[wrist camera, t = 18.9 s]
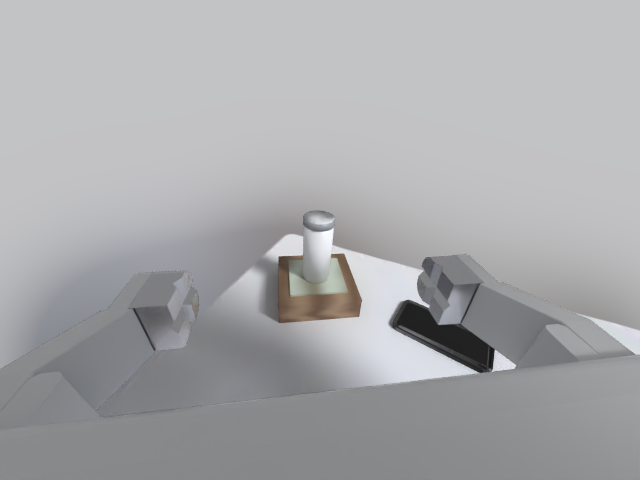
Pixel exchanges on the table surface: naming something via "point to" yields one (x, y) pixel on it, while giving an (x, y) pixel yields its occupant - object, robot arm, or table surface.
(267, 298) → the table surface
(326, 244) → the canister
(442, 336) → the phone
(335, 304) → the walnut base
